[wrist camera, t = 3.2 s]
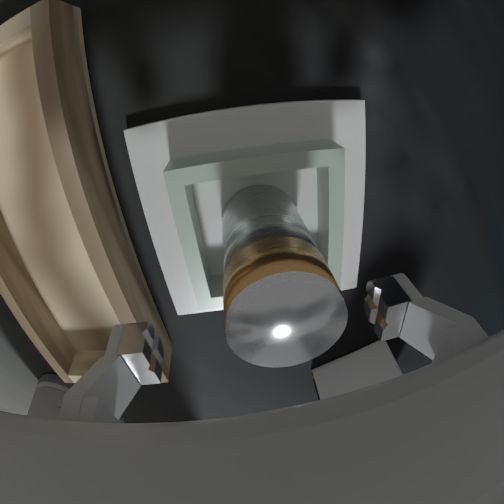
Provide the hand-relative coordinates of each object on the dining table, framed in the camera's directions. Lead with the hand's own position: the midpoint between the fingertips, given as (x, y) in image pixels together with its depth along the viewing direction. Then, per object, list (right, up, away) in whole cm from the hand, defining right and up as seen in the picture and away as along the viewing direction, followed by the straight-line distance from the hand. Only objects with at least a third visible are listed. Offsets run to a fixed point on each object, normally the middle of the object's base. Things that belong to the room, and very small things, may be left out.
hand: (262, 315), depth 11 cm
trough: (-12, +4, +5) cm, 14 cm away
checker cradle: (0, +4, +6) cm, 7 cm away
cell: (0, +4, +5) cm, 7 cm away
